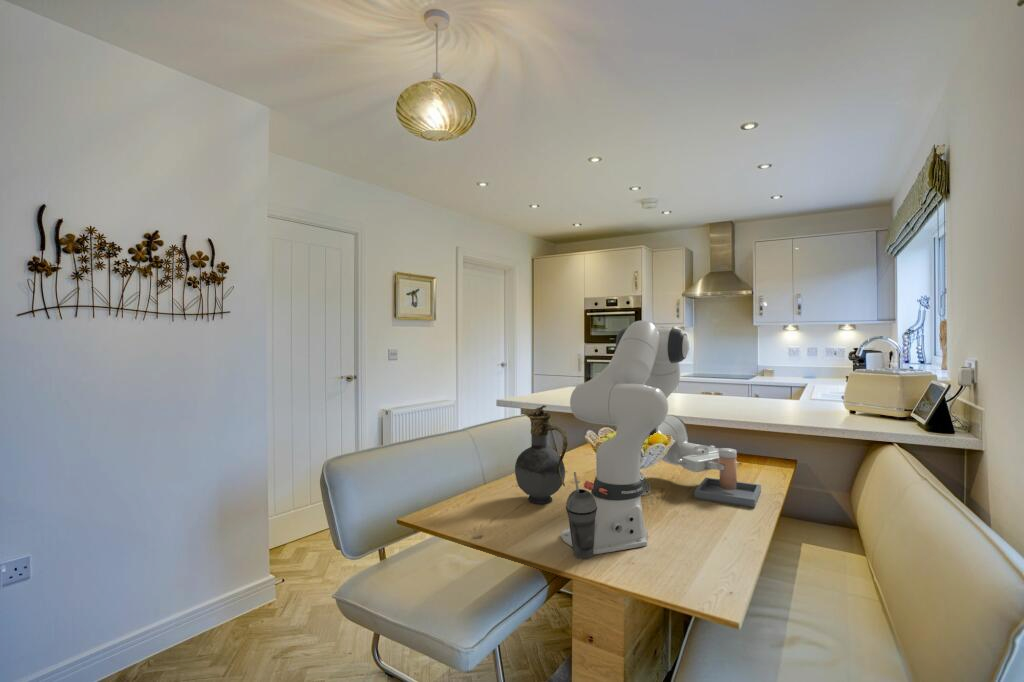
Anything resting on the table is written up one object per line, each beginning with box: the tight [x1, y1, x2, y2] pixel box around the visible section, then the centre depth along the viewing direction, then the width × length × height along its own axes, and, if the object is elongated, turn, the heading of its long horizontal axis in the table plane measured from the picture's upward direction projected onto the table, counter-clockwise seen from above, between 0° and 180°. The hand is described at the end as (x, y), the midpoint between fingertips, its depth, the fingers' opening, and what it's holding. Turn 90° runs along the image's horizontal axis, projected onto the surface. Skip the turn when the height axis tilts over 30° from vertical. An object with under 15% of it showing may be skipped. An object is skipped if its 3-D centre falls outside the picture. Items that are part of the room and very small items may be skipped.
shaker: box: [718, 447, 738, 490], centre depth 156 cm, size 5×5×12 cm
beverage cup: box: [565, 471, 597, 560], centre depth 113 cm, size 7×7×20 cm
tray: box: [693, 477, 762, 509], centre depth 156 cm, size 17×17×2 cm
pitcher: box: [514, 404, 569, 505], centre depth 152 cm, size 11×19×30 cm, turn 43°
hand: (730, 466), depth 155 cm, fingers closed on shaker, 5 cm apart
